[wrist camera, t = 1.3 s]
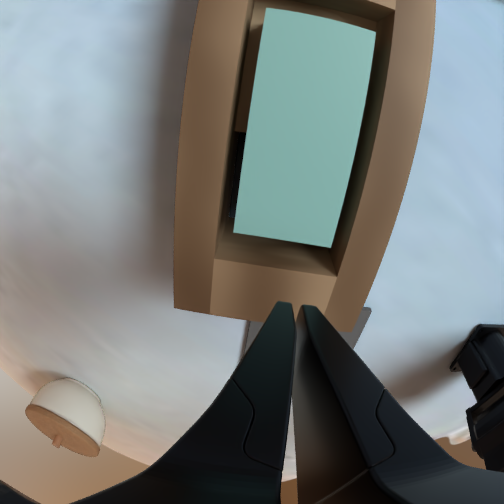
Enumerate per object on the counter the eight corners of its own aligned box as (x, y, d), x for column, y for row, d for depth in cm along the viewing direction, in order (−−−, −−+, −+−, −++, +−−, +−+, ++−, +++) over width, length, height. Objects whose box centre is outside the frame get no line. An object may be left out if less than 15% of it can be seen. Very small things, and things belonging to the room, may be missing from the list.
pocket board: (396, -2, 11) (435, -28, 6) (336, 281, 20) (351, 332, 16) (232, -36, 11) (218, -77, 6) (195, 259, 20) (173, 308, 16)
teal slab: (359, 42, 11) (376, 32, 9) (322, 226, 16) (330, 247, 13) (266, 23, 11) (266, 7, 9) (238, 212, 16) (233, 232, 13)
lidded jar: (89, 415, 35) (69, 463, 27) (38, 370, 31) (10, 418, 23) (131, 412, 32) (110, 471, 24) (71, 359, 28) (37, 420, 20)
